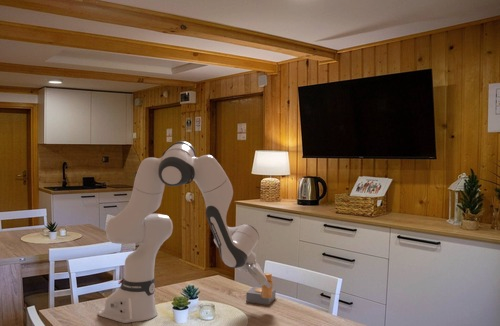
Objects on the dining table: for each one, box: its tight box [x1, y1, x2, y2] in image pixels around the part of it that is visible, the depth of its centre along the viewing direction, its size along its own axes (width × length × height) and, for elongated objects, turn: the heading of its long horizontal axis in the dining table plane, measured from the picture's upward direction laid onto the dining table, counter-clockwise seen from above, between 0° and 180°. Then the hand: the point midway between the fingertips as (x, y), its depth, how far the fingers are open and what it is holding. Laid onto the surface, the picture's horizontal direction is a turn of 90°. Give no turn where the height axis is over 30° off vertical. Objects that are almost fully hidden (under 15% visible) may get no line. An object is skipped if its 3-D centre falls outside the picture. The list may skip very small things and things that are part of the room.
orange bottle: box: [261, 272, 274, 298], centre depth 179 cm, size 4×4×9 cm
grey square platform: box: [245, 285, 277, 306], centre depth 193 cm, size 10×10×4 cm
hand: (268, 284), depth 179 cm, fingers closed on orange bottle, 4 cm apart
